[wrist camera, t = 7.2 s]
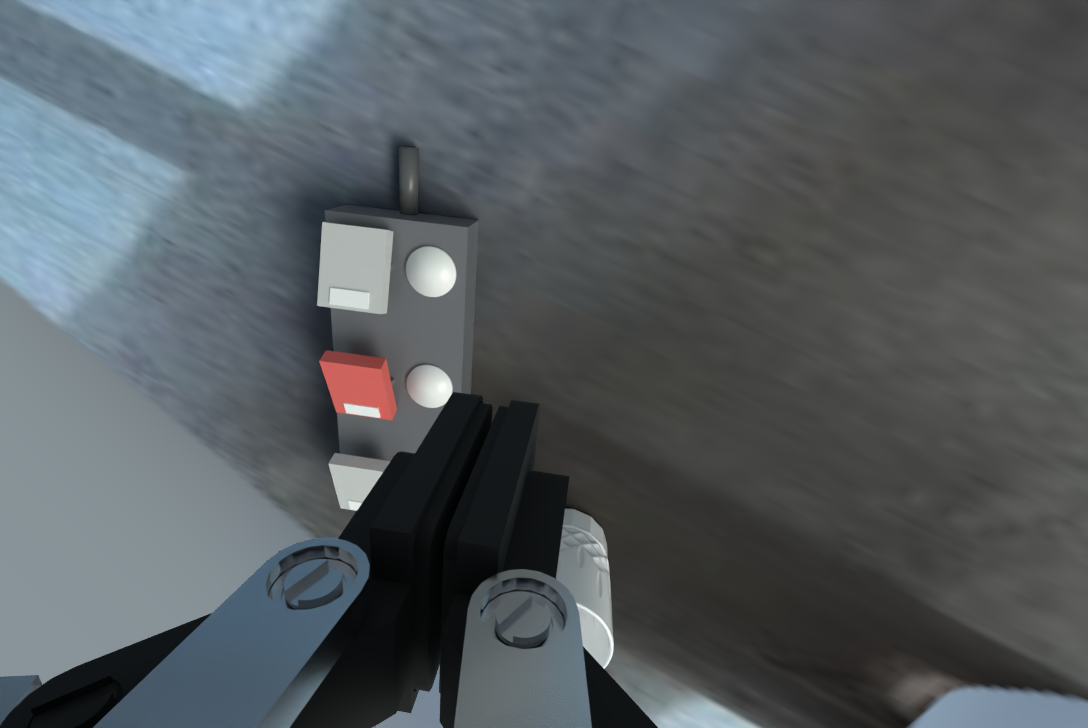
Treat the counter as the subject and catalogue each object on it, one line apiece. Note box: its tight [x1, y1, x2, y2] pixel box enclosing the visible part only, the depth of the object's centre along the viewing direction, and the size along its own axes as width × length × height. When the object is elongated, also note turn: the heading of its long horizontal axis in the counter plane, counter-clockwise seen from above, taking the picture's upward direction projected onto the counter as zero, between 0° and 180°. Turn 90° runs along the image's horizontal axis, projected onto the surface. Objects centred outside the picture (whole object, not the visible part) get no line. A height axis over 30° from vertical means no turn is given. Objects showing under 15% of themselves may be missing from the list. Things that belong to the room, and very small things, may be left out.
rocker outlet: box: [329, 453, 390, 511], centre depth 40 cm, size 5×4×1 cm
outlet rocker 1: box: [317, 222, 393, 314], centre depth 33 cm, size 5×4×1 cm
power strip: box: [325, 146, 479, 461], centre depth 38 cm, size 26×9×4 cm, turn 175°
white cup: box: [556, 509, 614, 669], centre depth 41 cm, size 8×8×10 cm
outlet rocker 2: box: [319, 350, 397, 420], centre depth 37 cm, size 5×4×1 cm
